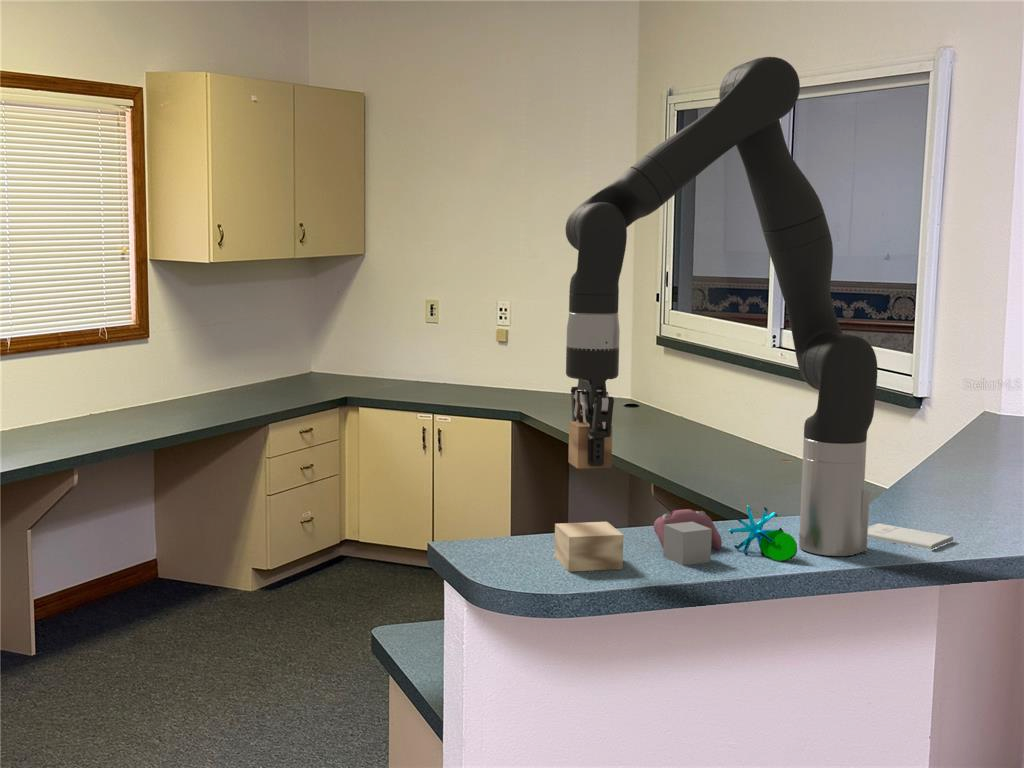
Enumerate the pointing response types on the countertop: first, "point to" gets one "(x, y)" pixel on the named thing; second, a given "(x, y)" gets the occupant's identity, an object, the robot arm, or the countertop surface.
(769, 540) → the stick construction toy
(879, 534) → the external hard drive
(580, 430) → the walnut block
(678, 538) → the grey cube
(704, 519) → the video game controller
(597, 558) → the birch block
